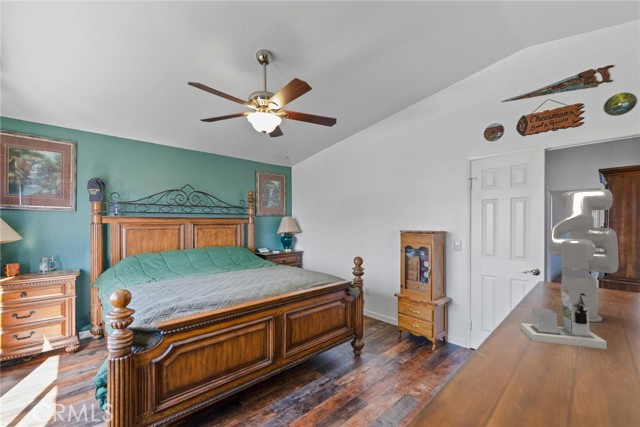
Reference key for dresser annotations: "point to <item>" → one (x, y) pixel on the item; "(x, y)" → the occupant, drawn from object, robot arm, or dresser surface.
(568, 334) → the pallet
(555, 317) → the metal block
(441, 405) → the dresser surface
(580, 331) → the syrup box
